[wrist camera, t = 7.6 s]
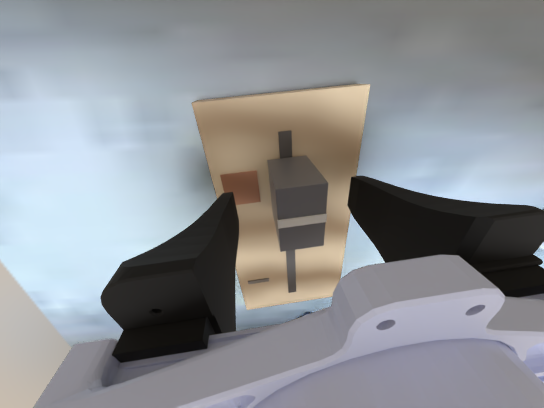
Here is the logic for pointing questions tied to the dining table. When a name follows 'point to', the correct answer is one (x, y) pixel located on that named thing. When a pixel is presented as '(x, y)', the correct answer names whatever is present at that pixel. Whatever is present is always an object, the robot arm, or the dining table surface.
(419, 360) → the robot arm
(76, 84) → the dining table surface
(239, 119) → the fader board
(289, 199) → the fader knob
